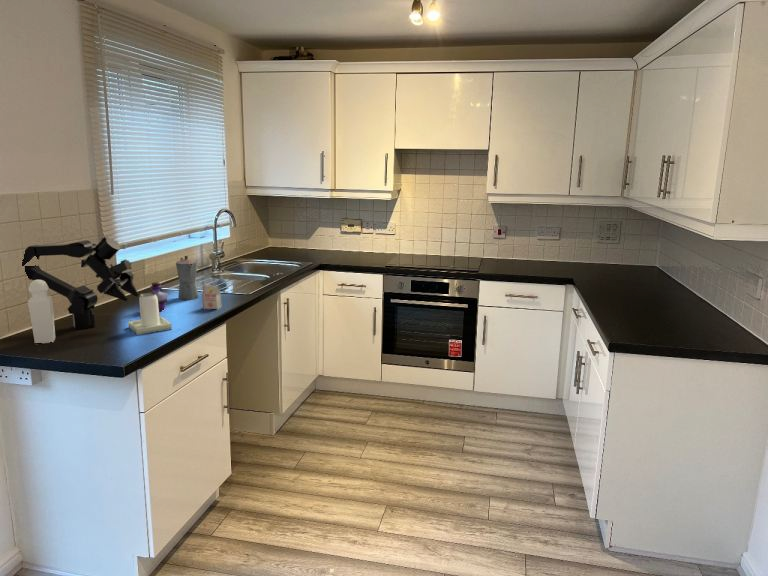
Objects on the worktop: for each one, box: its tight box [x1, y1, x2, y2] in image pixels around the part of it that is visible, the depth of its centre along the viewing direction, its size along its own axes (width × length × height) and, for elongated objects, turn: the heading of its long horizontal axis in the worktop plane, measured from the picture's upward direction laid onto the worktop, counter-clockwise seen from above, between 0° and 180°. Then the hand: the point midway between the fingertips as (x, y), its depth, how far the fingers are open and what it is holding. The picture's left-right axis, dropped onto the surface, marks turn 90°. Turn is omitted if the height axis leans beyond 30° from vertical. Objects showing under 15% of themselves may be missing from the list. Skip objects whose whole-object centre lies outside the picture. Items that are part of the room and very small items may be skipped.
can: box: [138, 292, 160, 327], centre depth 214 cm, size 6×6×12 cm
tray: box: [128, 316, 173, 336], centre depth 215 cm, size 12×12×2 cm
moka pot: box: [175, 255, 200, 301], centre depth 262 cm, size 10×15×20 cm, turn 41°
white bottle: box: [27, 280, 56, 344], centre depth 196 cm, size 6×6×22 cm
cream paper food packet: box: [201, 284, 223, 310], centre depth 244 cm, size 4×7×10 cm, turn 75°
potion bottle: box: [150, 281, 169, 313], centre depth 240 cm, size 9×9×12 cm
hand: (132, 298), depth 213 cm, fingers open, 9 cm apart
